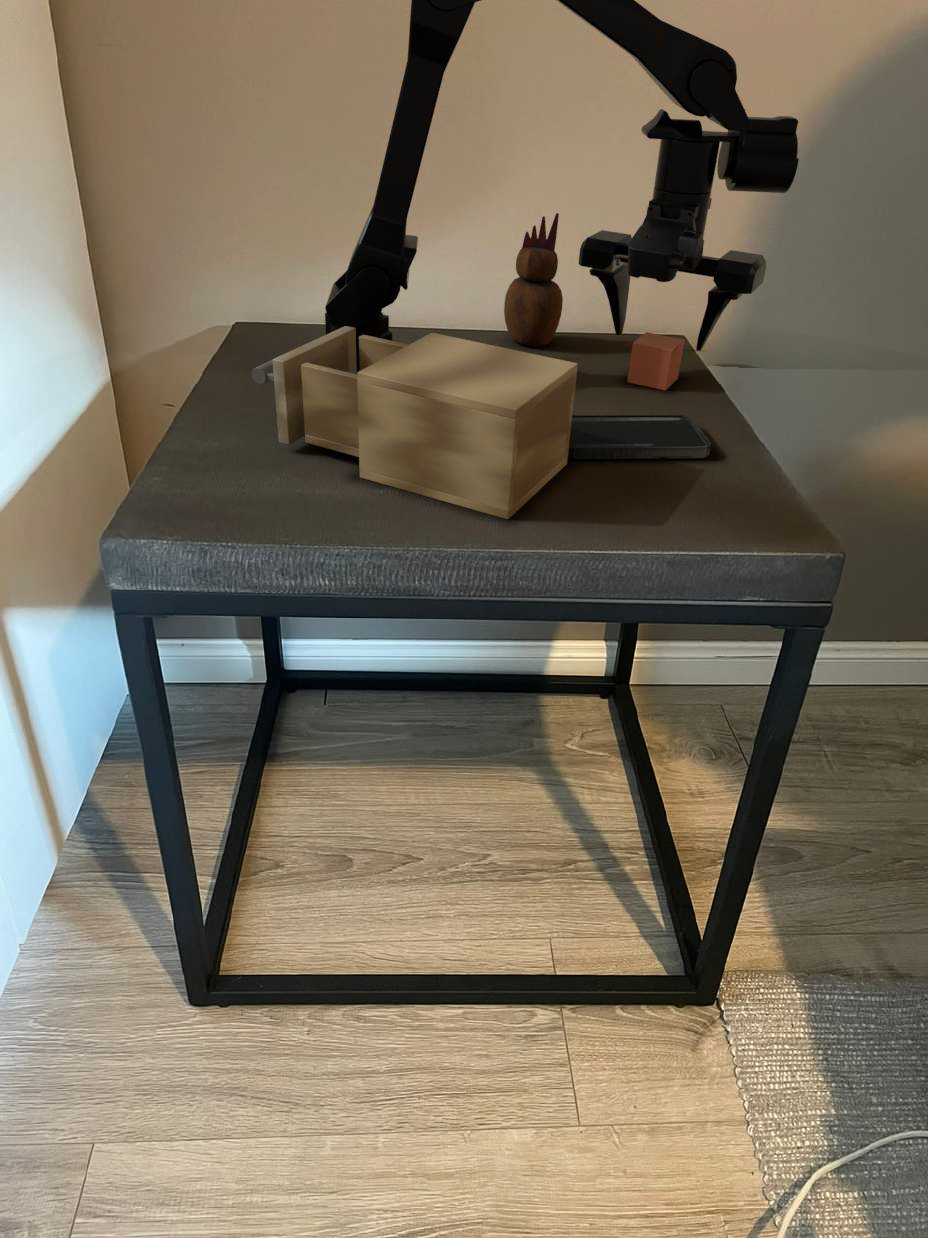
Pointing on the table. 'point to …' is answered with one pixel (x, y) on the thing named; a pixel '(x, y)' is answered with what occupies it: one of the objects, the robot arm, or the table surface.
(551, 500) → the table surface
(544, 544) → the table surface
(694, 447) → the phone
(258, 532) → the table surface
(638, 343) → the block
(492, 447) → the cabinet
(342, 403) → the drawer
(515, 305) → the wooden figurine
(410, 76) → the robot arm
